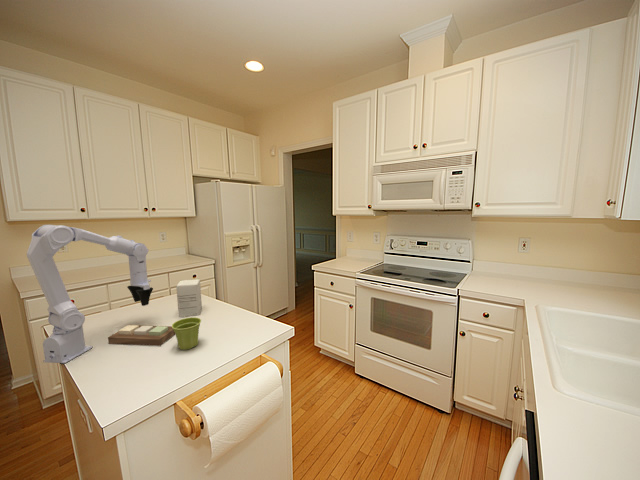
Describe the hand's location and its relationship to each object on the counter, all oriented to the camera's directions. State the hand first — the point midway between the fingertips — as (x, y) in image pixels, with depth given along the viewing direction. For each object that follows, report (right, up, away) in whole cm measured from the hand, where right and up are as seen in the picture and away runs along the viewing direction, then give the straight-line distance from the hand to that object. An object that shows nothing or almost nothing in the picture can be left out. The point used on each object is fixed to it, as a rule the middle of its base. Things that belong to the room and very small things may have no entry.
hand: (141, 303), depth 108 cm
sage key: (+14, -10, -10) cm, 19 cm away
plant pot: (+27, -12, -15) cm, 33 cm away
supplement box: (+14, -8, +14) cm, 21 cm away
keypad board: (+8, -11, -9) cm, 16 cm away
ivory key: (+8, -10, -9) cm, 16 cm away
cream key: (+2, -10, -9) cm, 13 cm away
